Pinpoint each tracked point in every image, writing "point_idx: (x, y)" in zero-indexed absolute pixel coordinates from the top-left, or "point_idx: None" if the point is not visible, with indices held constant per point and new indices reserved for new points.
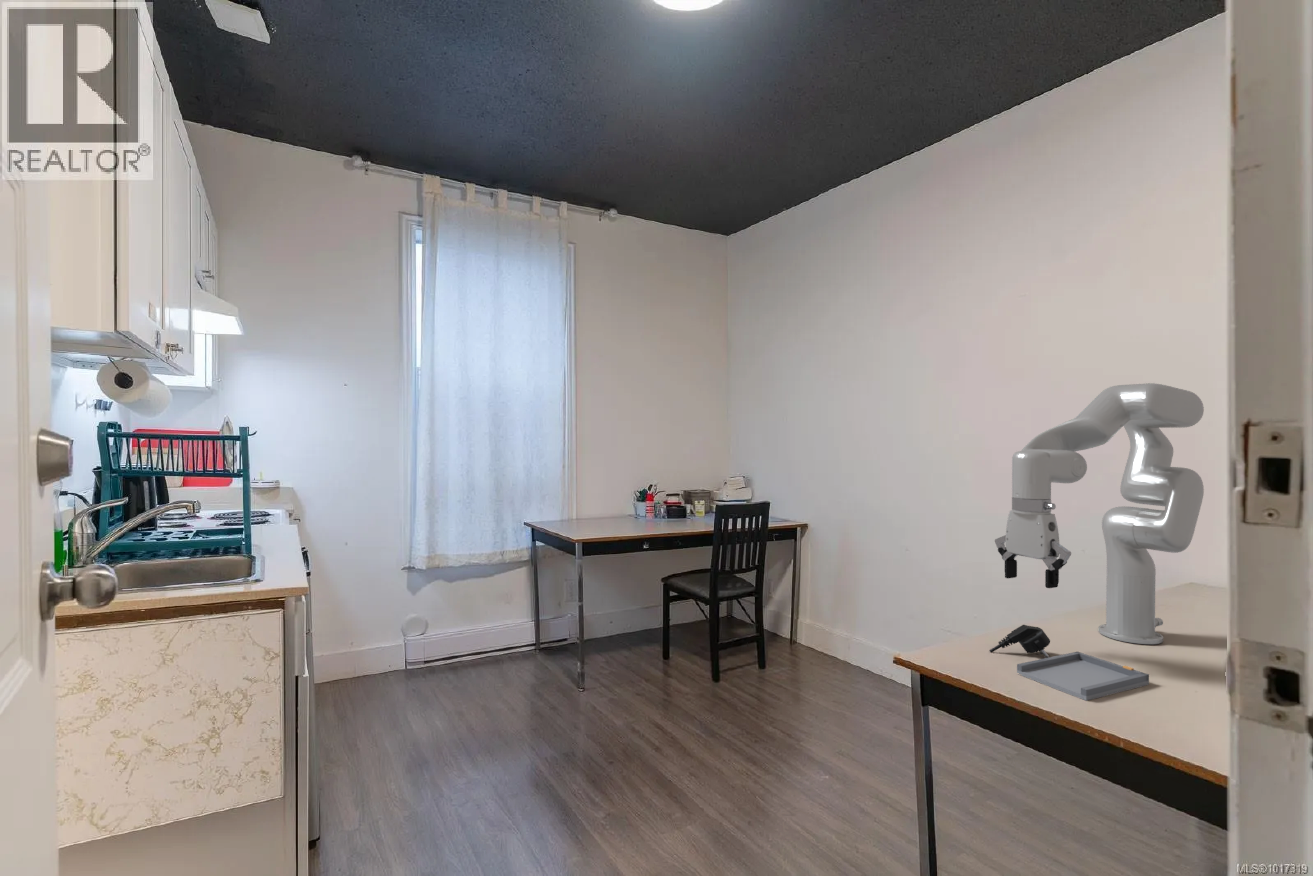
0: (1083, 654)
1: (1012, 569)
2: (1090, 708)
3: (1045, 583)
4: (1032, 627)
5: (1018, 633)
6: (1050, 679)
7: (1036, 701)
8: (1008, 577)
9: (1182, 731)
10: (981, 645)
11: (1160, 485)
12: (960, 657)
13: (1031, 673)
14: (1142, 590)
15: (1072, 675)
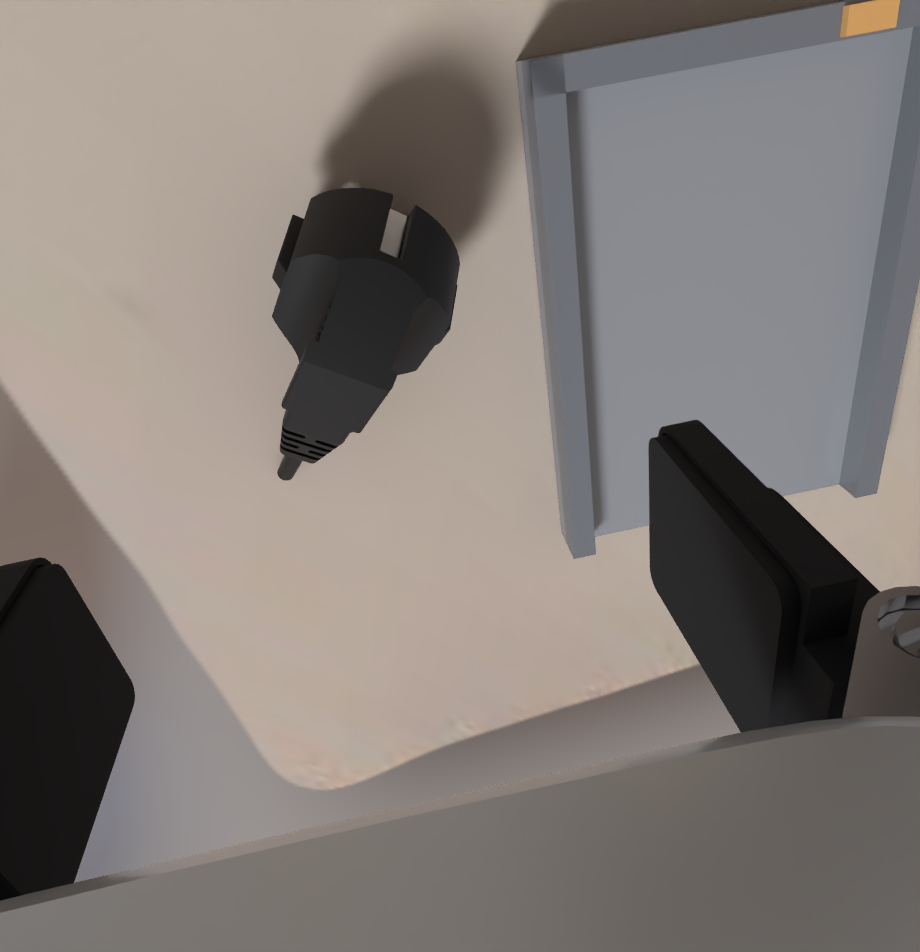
0: (587, 74)
1: (55, 728)
2: (885, 502)
3: (671, 611)
4: (362, 326)
5: (365, 424)
6: None
7: None
8: (131, 693)
9: None
10: (170, 446)
11: None
12: (333, 628)
13: (618, 515)
14: None
15: (707, 359)
